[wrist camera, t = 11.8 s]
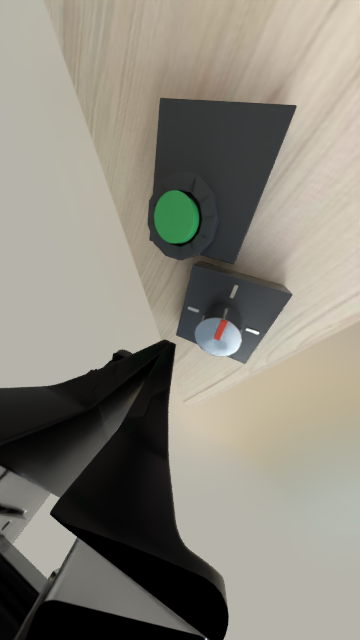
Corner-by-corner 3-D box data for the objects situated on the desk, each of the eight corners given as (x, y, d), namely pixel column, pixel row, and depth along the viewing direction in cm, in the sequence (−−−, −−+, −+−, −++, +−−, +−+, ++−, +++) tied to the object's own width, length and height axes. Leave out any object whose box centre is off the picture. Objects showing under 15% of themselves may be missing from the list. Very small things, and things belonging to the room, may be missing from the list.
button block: (157, 246, 19) (139, 248, 16) (171, 116, 13) (147, 75, 10) (232, 268, 17) (230, 275, 14) (288, 126, 11) (308, 78, 8)
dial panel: (182, 325, 23) (175, 335, 21) (199, 261, 18) (192, 264, 15) (244, 349, 21) (244, 364, 19) (285, 286, 16) (293, 295, 13)
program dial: (232, 340, 18) (230, 365, 14) (199, 327, 19) (189, 347, 15) (248, 309, 15) (250, 330, 12) (209, 296, 16) (200, 312, 13)
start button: (161, 238, 15) (152, 237, 13) (166, 192, 13) (156, 186, 11) (193, 247, 14) (188, 247, 12) (204, 199, 12) (199, 194, 11)
